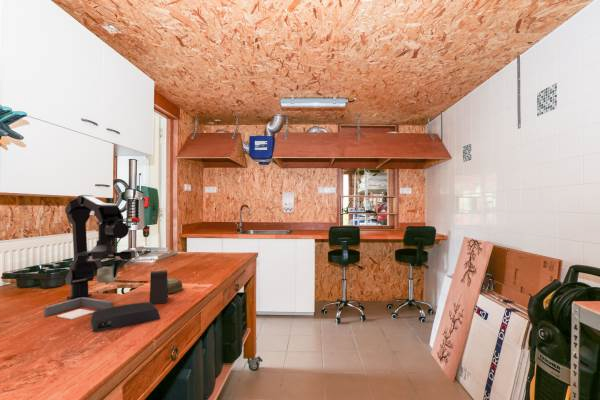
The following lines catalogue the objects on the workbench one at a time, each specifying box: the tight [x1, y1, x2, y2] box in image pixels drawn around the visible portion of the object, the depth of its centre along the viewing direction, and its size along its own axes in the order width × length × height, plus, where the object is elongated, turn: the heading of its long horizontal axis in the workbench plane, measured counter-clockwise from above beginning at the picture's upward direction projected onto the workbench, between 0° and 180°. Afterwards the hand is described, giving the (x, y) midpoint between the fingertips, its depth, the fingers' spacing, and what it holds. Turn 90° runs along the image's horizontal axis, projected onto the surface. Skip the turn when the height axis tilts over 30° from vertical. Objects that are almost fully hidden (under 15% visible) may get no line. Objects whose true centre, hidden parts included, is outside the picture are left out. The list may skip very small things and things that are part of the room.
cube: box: [96, 266, 118, 284], centre depth 122 cm, size 5×5×5 cm
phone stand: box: [148, 270, 169, 305], centre depth 129 cm, size 9×6×12 cm, turn 17°
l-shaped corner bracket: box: [43, 297, 114, 321], centre depth 115 cm, size 17×13×3 cm
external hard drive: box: [90, 301, 161, 333], centre depth 108 cm, size 13×19×4 cm
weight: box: [167, 277, 183, 294], centre depth 145 cm, size 14×13×5 cm
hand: (107, 277), depth 122 cm, fingers closed on cube, 5 cm apart
